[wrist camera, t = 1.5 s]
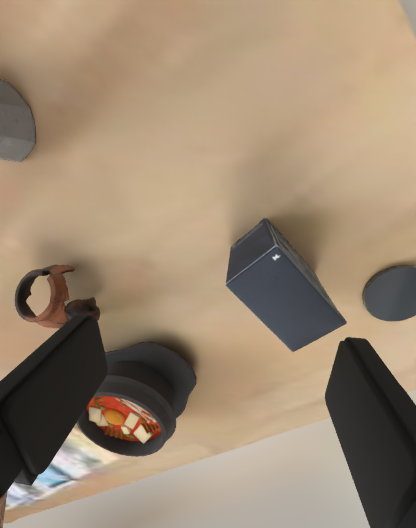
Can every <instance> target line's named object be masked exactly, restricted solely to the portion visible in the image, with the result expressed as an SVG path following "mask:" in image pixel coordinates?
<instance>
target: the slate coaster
mask: <svg viewBox="0 0 416 528" xmlns="http://www.w3.org/2000/svg"><path fill="white" fill-rule="evenodd" d="M363 304H364V306H365V308H366V309H367V310H368V312H369V313H370V314H371V315H373V316H374V317H376V318H378V319H381V320H385V321H401V320H405V319H408V318H411V317H413V316H415V315H416V267H414V266H408V265H401V266H394V267H390V268H387V269H385V270H383V271H381V272H379V273H378V274H376V275H375V276H374V277H373V278H372V279H371V280H370V281H369V282H368V283H367V285H366V287H365V289H364V291H363Z"/></svg>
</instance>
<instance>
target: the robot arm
mask: <svg viewBox="0 0 416 528" xmlns="http://www.w3.org/2000/svg"><path fill="white" fill-rule="evenodd" d="M107 373H108V366H107V362H106V357H105V353H104V348H103V344H102V339H101V335H100V330H99V326H98V322H97V320H96V319H94V317H93V316H92V315H85V314H76V315H75V316H73V317H72V318H71V319H70V320H69V321H68V322H67V323H66V324H64V325H63V326H62V327H61V328H60V329H59V330H58V331H57V332H55V333H54V334H53V335H52V336H51V337H50V338H49V339H48V340H46V341H45V342H44V343H43V344H42V345H41V346H40V347H38V348H37V349H36V350H35V351H34V352H33V353H32V354H31V355H29V356H28V357H27V358H26V359H25V360H24V361H23V362H22V363H20V364H19V365H18V366H17V367H16V368H15V369H14V370H12V371H11V372H10V373H9V374H8V375H7V376H6V377H5V378H3V379H2V380H1V381H0V528H2V527H3V520H4V512H5V504H6V497H7V490H8V489H9V488H10V486H11V485H12V483H13V482H14V481H15V482H16V483H20V484H25V485H30V486H31V485H32V484H33V482H34V481H35V479H36V478H37V476H38V475H39V474H41V473H43V472H44V471H45V470H46V469H47V467H48V466H49V464H50V463H51V461H52V460H53V458H54V456H55V455H56V453H57V452H58V450H59V449H60V447H61V446H62V444H63V443H64V441H65V439H66V438H67V436H68V435H69V433H70V432H71V430H72V429H73V427H74V426H75V424H76V423H77V421H78V419H79V418H80V416H81V415H82V413H83V412H84V410H85V409H86V407H87V406H88V404H89V402H90V401H91V399H92V398H93V396H94V395H95V393H96V392H97V390H98V389H99V387H100V385H101V384H102V382H103V381H104V379H105V378H106V376H107ZM325 401H326V405H327V408H328V410H329V413H330V416H331V419H332V422H333V424H334V427H335V430H336V433H337V436H338V438H339V441H340V444H341V447H342V450H343V452H344V455H345V458H346V461H347V464H348V466H349V469H350V472H351V475H352V478H353V480H354V483H355V486H356V489H357V491H358V494H359V497H360V500H361V503H362V505H363V508H364V511H365V514H366V517H367V520H368V522H369V525H370V527H371V528H416V405H415V404H414V402H413V401H412V400H411V398H410V397H409V395H408V394H407V393H406V391H405V390H404V389H403V388H402V386H401V385H400V384H399V383H398V382H397V380H396V379H395V377H394V376H393V375H392V373H391V372H390V371H389V369H388V368H387V366H386V365H385V364H384V362H383V361H382V360H381V358H380V357H379V355H378V354H377V353H376V351H375V350H374V349H373V347H372V346H371V344H370V343H369V342H368V341H367V340H366V339H362V338H351V337H347V338H346V339H345V341H341V342H340V343H339V346H338V350H337V354H336V357H335V361H334V364H333V368H332V371H331V375H330V378H329V382H328V386H327V389H326V393H325Z"/></svg>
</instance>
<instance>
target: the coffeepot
mask: <svg viewBox="0 0 416 528" xmlns="http://www.w3.org/2000/svg"><path fill="white" fill-rule="evenodd" d="M35 143H36V132H35V124H34V120H33V117H32V114H31V110H30V108H29V106H28V105H27V104H26V102H25V101H24V100H23V98H22V97H21V96H20V95H19V94H18V93H17V92H16V91H15V90H14V89H13V88H12V87H11V86H10V85H9V84H8V82H7V81H6V80H1V79H0V159H3V160H11V161H18V162H21V161H22V160H23V159H24V158H25V157H26V156H27V155H28V154H29V153H30V152H31V150H32V149H33V146H34V144H35Z"/></svg>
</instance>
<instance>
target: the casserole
mask: <svg viewBox="0 0 416 528" xmlns="http://www.w3.org/2000/svg"><path fill="white" fill-rule="evenodd" d="M105 357H106V362H107V366H108V373H107V376H106V378H105V379H104V381H103V382H102V384H101V385H100V387H99V389H98V390H97V392H96V393H95V395H94V396H93V398H92V399H91V401H90V402H89V404H88V406H87V407H86V409H85V410H84V412H83V413H82V415H81V416H80V418H79V419H78V421H77V425H78V427H79V429H80V430H81V431H82V432H83V434H84V435H85V436H86V437H87V438H89V439H90V440H91V441H92V442H94V443H95V444H97V445H99V446H100V447H102V448H104V449H106V450H109V451H111V452H114V453H117V454H121V455H126V456H146V455H150V454H153V453H155V452H157V451H158V450H159V449H161V448H162V446H163V445H164V443H165V442H166V441H167V440H168V439H169V438H171V436H172V435H173V433H174V431H175V428H176V418H177V417H178V416H179V415H181V413H182V412H183V411H184V409H185V406H186V403H187V400H188V396H189V394H190V393H191V391H192V390H193V388H194V386H195V385H196V375H195V373H194V371H193V369H192V368H191V367H190V366H189V364H188V363H187V362H186V361H185V360H184V359H183V358H182V357H181V356H179V355H178V354H176V353H175V352H173V351H172V350H170V349H168V348H166V347H164V346H162V345H159V344H156V343H153V342H142V343H139V344H137V345H134V346H131V347H129V348H126V349H121V350H116V351H111V352H107V353H105Z"/></svg>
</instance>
